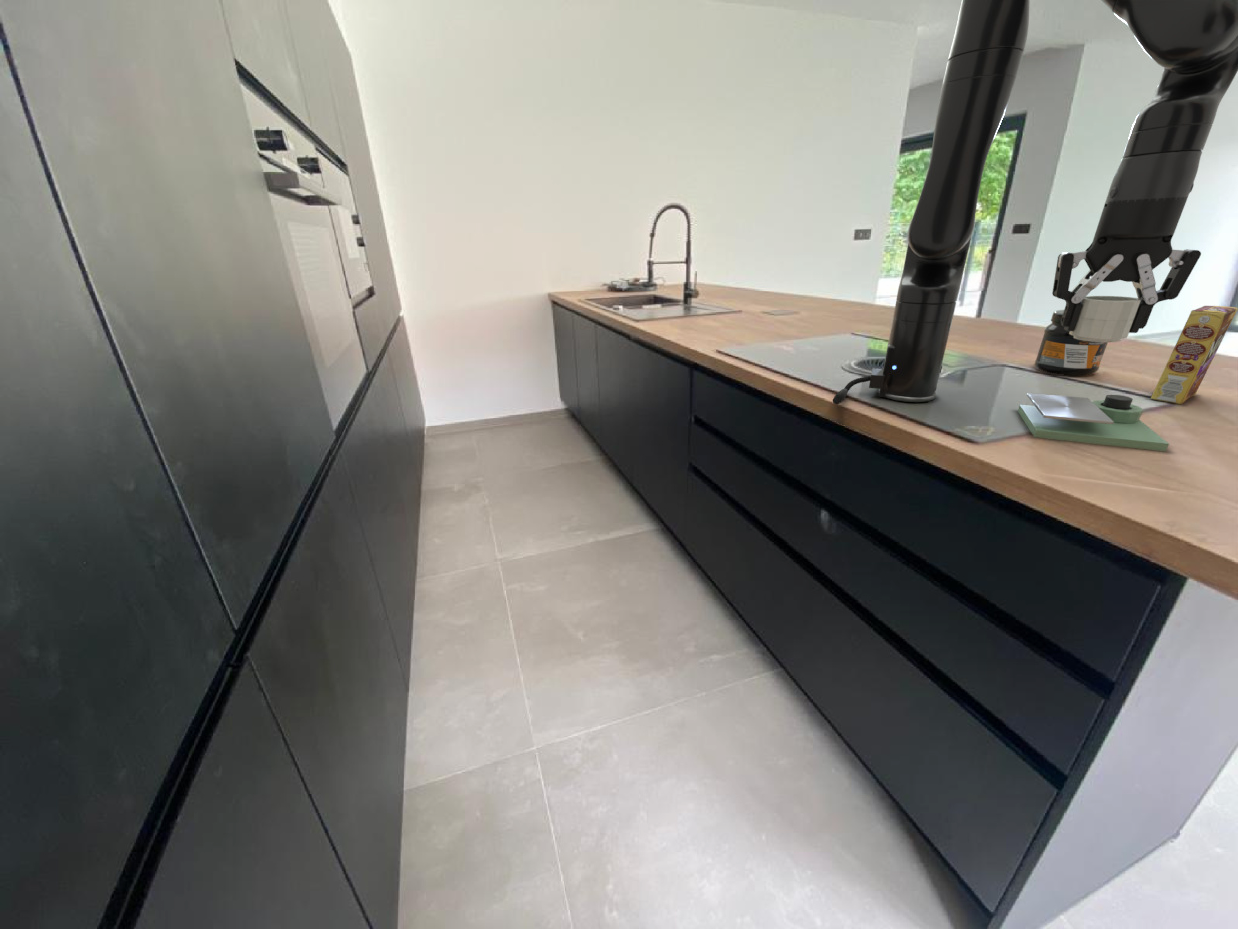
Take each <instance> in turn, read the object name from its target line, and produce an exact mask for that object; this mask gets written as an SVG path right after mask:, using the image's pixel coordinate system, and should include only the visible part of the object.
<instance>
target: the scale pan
mask: <svg viewBox="0 0 1238 929" xmlns="http://www.w3.org/2000/svg"><path fill="white" fill-rule="evenodd" d="M1026 397H1027V398H1028V399H1029V400H1030V402H1031V403H1032V404H1033V406H1035V407H1036V408H1037V409H1038V411H1039V412H1040V413H1041V415H1042V416H1043V417H1044V418H1051V419H1062V420H1072V421H1083V422H1093V423H1104V424H1113V423H1114V422H1113V421H1112V420H1111V419H1110V418H1109V417H1108V416H1107V415H1106V414H1105V413H1104V412H1103V411H1101V410H1100V409H1099V408H1098V407H1097V406H1096V405H1095V404H1094V403H1093V402H1092V401H1093V400H1091V399H1090V398H1088V397H1080V396H1069V395H1068V396H1067V395H1056V394H1055V395H1054V394H1042V393H1032V392H1031V393H1030V392H1028V393H1027V394H1026Z"/></svg>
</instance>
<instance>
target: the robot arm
mask: <svg viewBox="0 0 1238 929" xmlns="http://www.w3.org/2000/svg"><path fill="white" fill-rule="evenodd" d="M1100 1H1101V2H1102V3H1103V4H1104V5H1105V6H1106V7H1107V9H1109V10H1110V11H1111V12H1112V13H1113V14H1114V15H1115V16H1116V17H1117V18H1118V19H1119V20H1121V21H1122V22H1123V23H1125V24H1126V25H1127V26H1128V29H1129V31H1130V32H1131V33H1132V35H1133V36H1134V38H1135V39H1136V41H1137V42H1138V44H1139V45H1140V47H1141V48H1142V50H1143V51H1144V52H1145V53H1146V54H1147V55H1148V56H1149V57H1150V58H1151V60H1152V61H1154V63H1155V64H1157V65H1159V66H1160V67H1162V68H1163V69H1162V70H1163V71H1162V74H1161V77H1160V79H1159V81H1158V84H1157V86H1156V89H1155V92H1154V94H1153V97H1152V99H1151V101H1150V103H1148V104H1147V105H1145V106H1144V107H1143V108H1142V109H1141V110H1140V111H1139V112H1138V114H1137V116H1136V117H1135V119H1134V122H1133V124H1132V126H1131V130H1130V132H1129V136H1128V140H1127V142H1126V145H1125V149H1124V152H1123V155H1122V157H1121V158H1122V159H1121V160H1120V162H1119V165H1118V168H1117V170H1116V172H1115V173H1114V176H1113V178H1112V180H1111V183H1110V187H1109V189H1108V192H1107V196H1106V199H1105V202H1104V205H1103V207H1102V211H1101V214H1100V216H1099V221H1098V222H1097V223H1098V224H1097V227H1096V230H1095V233H1094V236H1093V239H1092V242H1091V244H1090V245H1089V246H1088V247H1087V248H1086V249H1085V250H1082V251H1076V252H1075V251H1074V252H1068V251H1066V252H1065V251H1064V252H1061V253H1059V254H1058V256H1057V260H1056V266H1055V273H1054V280H1053V287H1052V293H1051V294H1052V296H1053V297H1055V298H1057V299H1060V300H1063V301H1065V306H1064V309H1063V310H1064V312H1063V315H1062V319H1061V325H1062V326H1064V330H1066V331H1074V329H1075V327H1076V324H1077V320H1078V317H1079V314H1080V311H1081V308H1082V305H1083V304H1080V303H1081V301H1082V300H1083V299H1084V298H1085V297H1086V296H1089V294H1090V293H1091V292H1092V291H1093V290H1095V289H1096V288H1097V287H1098V286H1099V285H1100V284H1101V283H1102V282H1103V283H1104V282H1105V283H1112V282H1116V281H1122V282H1126V283H1130V282H1131V283H1132V286H1133V287H1134V290H1135V292H1136V296H1137V297H1136V298H1139V299H1142V301H1141V304H1140V306H1139V309H1138V312H1137V314H1136V317H1135V319H1134V322H1133V325H1132V327H1131V330H1130V333H1129V334H1137V333H1138V332H1139V331H1140V329H1142V330H1143V329H1144V328H1145V327H1146V326H1147V325H1148V322H1149V320H1150V316H1151V314H1152V312H1153V309H1154V306H1155V305H1156V304H1158V303H1160V302H1164V301H1167V300H1174V299H1176V298H1178V297H1179V294H1181V291H1182V290H1183V288H1184V286H1185V284H1186V282H1187V280H1188V279H1189V277H1190V275H1191V273H1192V271H1193V270H1194V269H1195V266H1196V265H1197V263H1198V261H1199V259H1200V258H1201V255H1202V252H1201V251H1200V250H1198V249H1173V247H1172V239H1173V237H1174V234H1175V233H1176V230H1177V227H1178V224H1179V222H1180V219H1181V217H1182V214H1183V211H1184V209H1185V206H1186V204H1187V201H1188V199H1189V195H1190V194H1191V193H1192V191H1193V188H1194V185H1195V184H1194V182H1195V180H1196V177H1197V174H1198V170H1199V166H1200V161H1201V158H1202V154H1203V150H1204V148H1205V146H1206V143H1207V141H1208V138H1209V135H1210V133H1211V130H1212V129H1213V128H1212V127H1213V124H1214V121H1215V119H1216V116H1217V112H1218V109H1219V106H1220V105H1221V102H1222V100H1223V98H1224V96H1225V95H1226V94H1227V92H1228V90H1229V88H1230V86H1231V85H1232V83H1233V81H1234V79H1235V77H1236V75H1237V74H1238V0H1100ZM959 7H960V8H959V12H958V16H957V21H956V25H955V30H954V34H953V39H952V43H951V46H950V50H949V53H948V54H949V55H948V58H947V62H946V67H945V72H944V76H943V80H942V84H941V89H940V93H939V97H938V98H939V99H938V105H937V109H936V110H937V111H936V115H935V121H934V123H935V124H934V130H933V140H932V147H931V153H930V154H931V155H930V160H929V165H928V169H927V172H926V177H925V179H924V182H923V186H922V189H921V192H920V196H919V198H918V201H917V204H916V207H915V210H914V213H913V215H912V217H911V220H910V223H909V225H908V229H907V247H906V253H905V259H904V263H903V269H902V272H901V277H900V280H899V285H898V289H897V294H896V300H895V306H894V310H893V316H892V322H891V327H890V333H889V337H888V342H887V345H886V352H885V355H884V356H885V357H884V363H883V368H876V367H875V368H874V367H873V368H872V369H871V374H870V375H866V376H862V377H861V376H860V377H858V378H855V379H853V380H850V381H849V382H847V384H846V385H845V386H844V388H841V390H838V392H837V393H836V394H834V397H833V398H832V403H833V404H834V405H839V404H841V403H842V402H843V401H844V400H845V399H846V397H847V395H848V394H849V391H850V390H851V389H852V387H854V386H856V385H858V384H861V383H866V382H869V385H868V389H877V390H878V398H885V399H889V400H892V401H899V402H906V403H926V402H931V401H933V400H934V399H935V398H936V395H937V394H936V391H937V389H938V383H939V378H940V374H941V373H942V370H943V362H944V358H945V352H946V349H947V345H948V340H949V336H950V332H951V327H952V324H953V320H954V315H955V311H956V307H957V303H958V302H957V301H958V298H959V293H960V289H961V286H962V281H963V276H964V271H965V267H966V263H967V258H968V253H969V251H970V245H971V242H972V237H973V234H974V230H975V225H976V215H977V214H976V213H977V207H978V201H979V194H980V188H981V184H982V183H981V182H982V179H983V173H984V170H985V165H986V161H987V158H988V156H989V152H990V150H991V148H992V145H993V143H994V139H995V137H996V135H997V133H998V130H999V128H1000V125H1001V123H1002V120H1003V118H1004V116H1005V113H1006V110H1007V107H1008V104H1009V102H1010V99H1011V96H1012V93H1013V90H1014V87H1015V84H1016V81H1017V77H1018V74H1019V70H1020V66H1021V63H1022V60H1023V57H1024V56H1023V55H1024V51H1025V48H1026V44H1027V40H1028V35H1029V25H1030V0H961V3H960V6H959ZM1167 259H1168V260H1169V261H1168V266H1169V267H1170V270H1169V272H1168V274H1167V275H1166V277H1165V279H1164V281H1163V283H1162V285H1161V287H1160V288H1159V290H1158V289H1156V285H1157V284H1156V283H1157V282H1156V279H1155V275H1154V272H1153V270H1154V269H1155V268H1157V267H1158V266H1159V265H1161V264H1162V263H1163V262H1164V261H1166V260H1167ZM1083 260H1084V261H1085V263H1086V265H1087V267H1088V268H1089V270H1088V271H1087V273H1086V274H1085V275H1083V277H1082V278H1081V279H1080V280H1079V281H1078V283H1077V285H1076V286H1075V287H1074V288H1073V289H1072V290H1070V284H1071V277H1072V271H1073V269H1076V268H1077V267H1079V265H1080V263H1081V261H1083Z"/></svg>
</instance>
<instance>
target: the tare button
mask: <svg viewBox="0 0 1238 929" xmlns="http://www.w3.org/2000/svg"><path fill="white" fill-rule="evenodd" d="M1103 400H1104V403H1103V406H1104V407H1107V408H1113V409H1120V410H1129V408H1130V405H1131V404H1132V403H1133V398H1132V397H1130V396H1127V395H1121V394H1106V396H1105V398H1104V399H1103Z"/></svg>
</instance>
